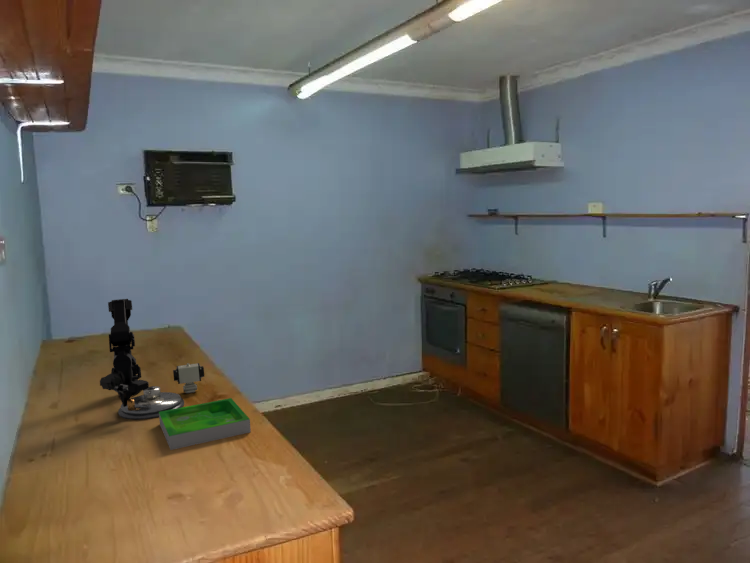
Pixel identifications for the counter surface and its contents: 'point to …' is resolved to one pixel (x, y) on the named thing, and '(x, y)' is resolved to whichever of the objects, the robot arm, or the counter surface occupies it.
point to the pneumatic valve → (189, 376)
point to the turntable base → (148, 416)
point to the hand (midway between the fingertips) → (125, 406)
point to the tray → (203, 423)
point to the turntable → (151, 404)
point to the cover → (152, 392)
